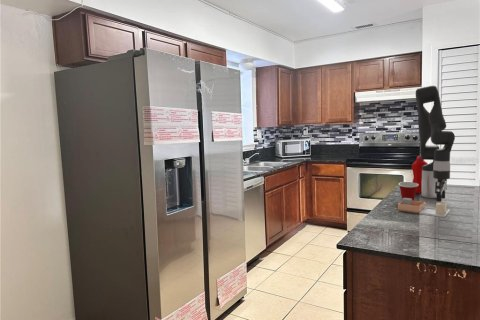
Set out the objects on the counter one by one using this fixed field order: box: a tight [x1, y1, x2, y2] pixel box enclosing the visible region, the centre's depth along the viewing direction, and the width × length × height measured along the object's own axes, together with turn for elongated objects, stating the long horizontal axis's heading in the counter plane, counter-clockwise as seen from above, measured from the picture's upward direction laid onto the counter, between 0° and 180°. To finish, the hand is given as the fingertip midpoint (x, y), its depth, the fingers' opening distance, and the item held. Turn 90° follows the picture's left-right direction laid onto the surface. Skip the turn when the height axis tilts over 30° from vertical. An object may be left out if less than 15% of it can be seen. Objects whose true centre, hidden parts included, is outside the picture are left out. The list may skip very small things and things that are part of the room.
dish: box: [397, 200, 426, 214], centre depth 183 cm, size 12×11×4 cm
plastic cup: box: [398, 181, 418, 201], centre depth 198 cm, size 11×11×12 cm
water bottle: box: [410, 155, 429, 194], centre depth 225 cm, size 9×11×25 cm
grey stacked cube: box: [401, 198, 412, 205], centre depth 185 cm, size 4×4×5 cm
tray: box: [419, 206, 451, 218], centre depth 176 cm, size 14×12×1 cm
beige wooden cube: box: [435, 202, 448, 215], centre depth 174 cm, size 4×4×5 cm
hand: (440, 199), depth 173 cm, fingers open, 8 cm apart
